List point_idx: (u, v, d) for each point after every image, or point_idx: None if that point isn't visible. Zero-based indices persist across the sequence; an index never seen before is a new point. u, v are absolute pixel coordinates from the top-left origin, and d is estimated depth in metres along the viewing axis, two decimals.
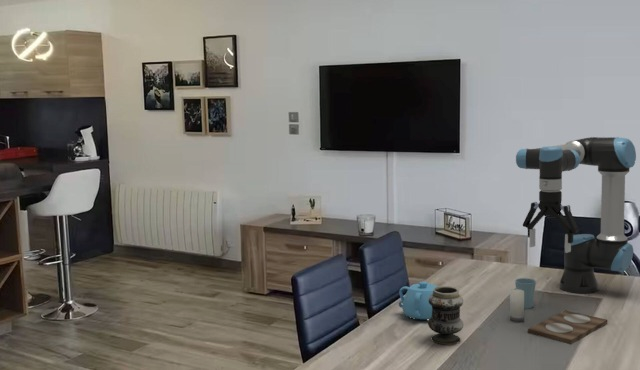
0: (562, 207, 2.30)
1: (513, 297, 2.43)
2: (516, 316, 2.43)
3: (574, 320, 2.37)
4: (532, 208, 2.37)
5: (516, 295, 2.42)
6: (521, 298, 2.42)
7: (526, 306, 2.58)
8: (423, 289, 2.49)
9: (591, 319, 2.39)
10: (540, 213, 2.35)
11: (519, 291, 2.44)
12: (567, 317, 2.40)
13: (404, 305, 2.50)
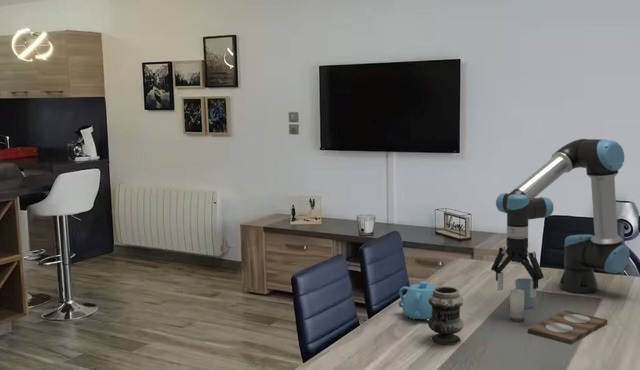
0: (528, 254, 2.38)
1: (513, 297, 2.43)
2: (516, 316, 2.43)
3: (574, 320, 2.37)
4: (500, 253, 2.46)
5: (516, 295, 2.42)
6: (521, 298, 2.42)
7: (526, 306, 2.58)
8: (423, 289, 2.49)
9: (591, 319, 2.39)
10: (507, 258, 2.43)
11: (519, 291, 2.44)
12: (567, 317, 2.40)
13: (404, 305, 2.50)
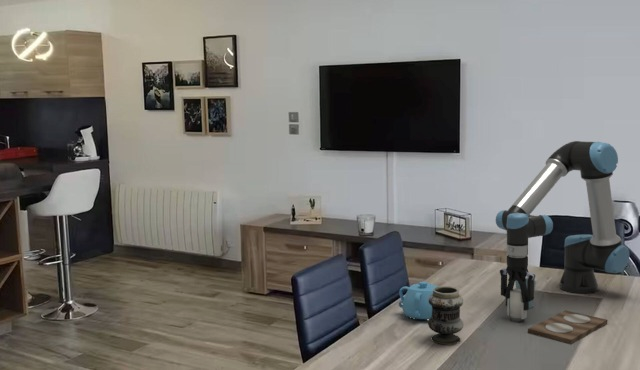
0: (528, 274, 2.39)
1: (513, 297, 2.43)
2: (516, 316, 2.43)
3: (574, 320, 2.37)
4: (502, 275, 2.47)
5: (516, 295, 2.42)
6: (521, 298, 2.42)
7: None
8: (423, 289, 2.49)
9: (591, 319, 2.39)
10: (510, 278, 2.44)
11: (519, 291, 2.44)
12: (567, 317, 2.40)
13: (404, 305, 2.50)
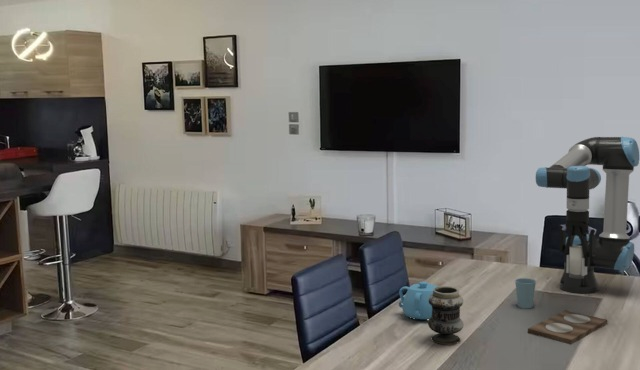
0: (589, 229, 2.31)
1: (573, 253, 2.34)
2: (576, 273, 2.35)
3: (574, 320, 2.37)
4: (561, 231, 2.38)
5: (577, 251, 2.33)
6: (582, 254, 2.34)
7: (526, 306, 2.58)
8: (423, 289, 2.49)
9: (591, 319, 2.39)
10: (570, 234, 2.35)
11: (579, 247, 2.35)
12: (567, 317, 2.40)
13: (404, 305, 2.50)
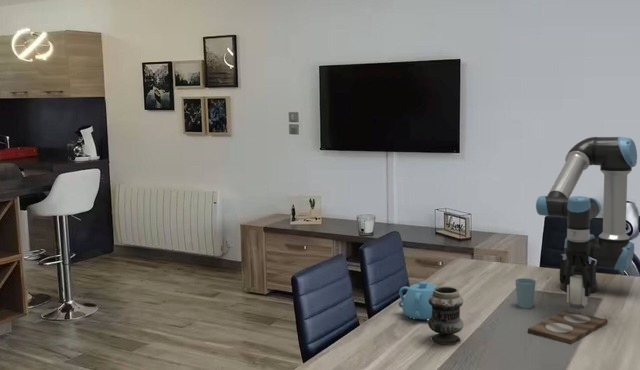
0: (590, 259, 2.32)
1: (574, 283, 2.35)
2: (577, 302, 2.36)
3: (574, 320, 2.37)
4: (562, 260, 2.39)
5: (577, 281, 2.35)
6: (582, 284, 2.35)
7: (526, 306, 2.58)
8: (423, 289, 2.49)
9: (591, 319, 2.39)
10: (570, 264, 2.37)
11: (580, 276, 2.37)
12: (567, 317, 2.40)
13: (404, 305, 2.50)
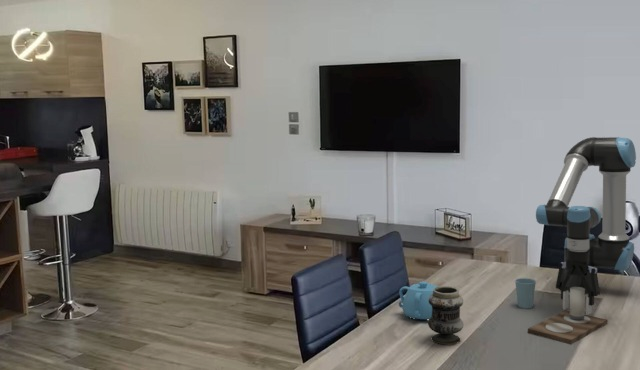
0: (590, 268, 2.33)
1: (574, 295, 2.36)
2: (577, 314, 2.36)
3: (574, 320, 2.37)
4: (561, 268, 2.40)
5: (577, 293, 2.35)
6: (582, 296, 2.36)
7: (526, 306, 2.58)
8: (423, 289, 2.49)
9: (591, 319, 2.39)
10: (569, 273, 2.37)
11: (580, 288, 2.37)
12: (567, 317, 2.40)
13: (404, 305, 2.50)
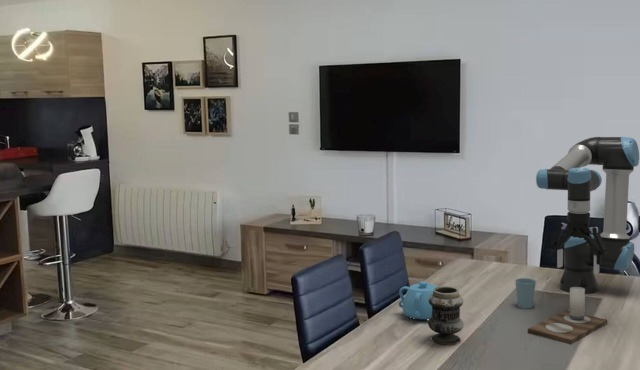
0: (591, 228, 2.31)
1: (574, 295, 2.36)
2: (577, 314, 2.36)
3: (574, 320, 2.37)
4: (560, 229, 2.39)
5: (577, 293, 2.35)
6: (582, 296, 2.36)
7: (526, 306, 2.58)
8: (423, 289, 2.49)
9: (591, 319, 2.39)
10: (568, 234, 2.36)
11: (579, 288, 2.37)
12: (567, 317, 2.40)
13: (404, 305, 2.50)
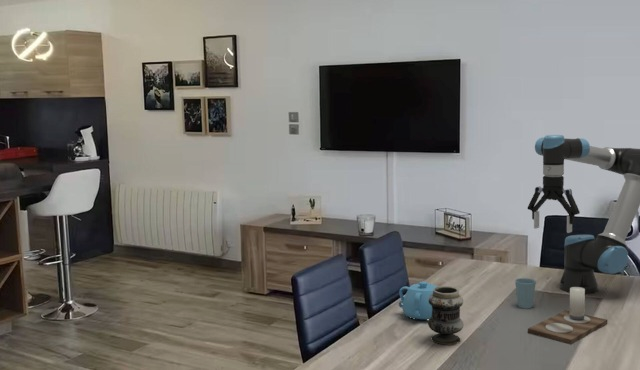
0: (564, 191, 2.49)
1: (574, 295, 2.36)
2: (577, 314, 2.36)
3: (574, 320, 2.37)
4: (536, 192, 2.57)
5: (577, 293, 2.35)
6: (582, 296, 2.36)
7: (526, 306, 2.58)
8: (423, 289, 2.49)
9: (591, 319, 2.39)
10: (544, 197, 2.54)
11: (580, 288, 2.37)
12: (567, 317, 2.40)
13: (404, 305, 2.50)
